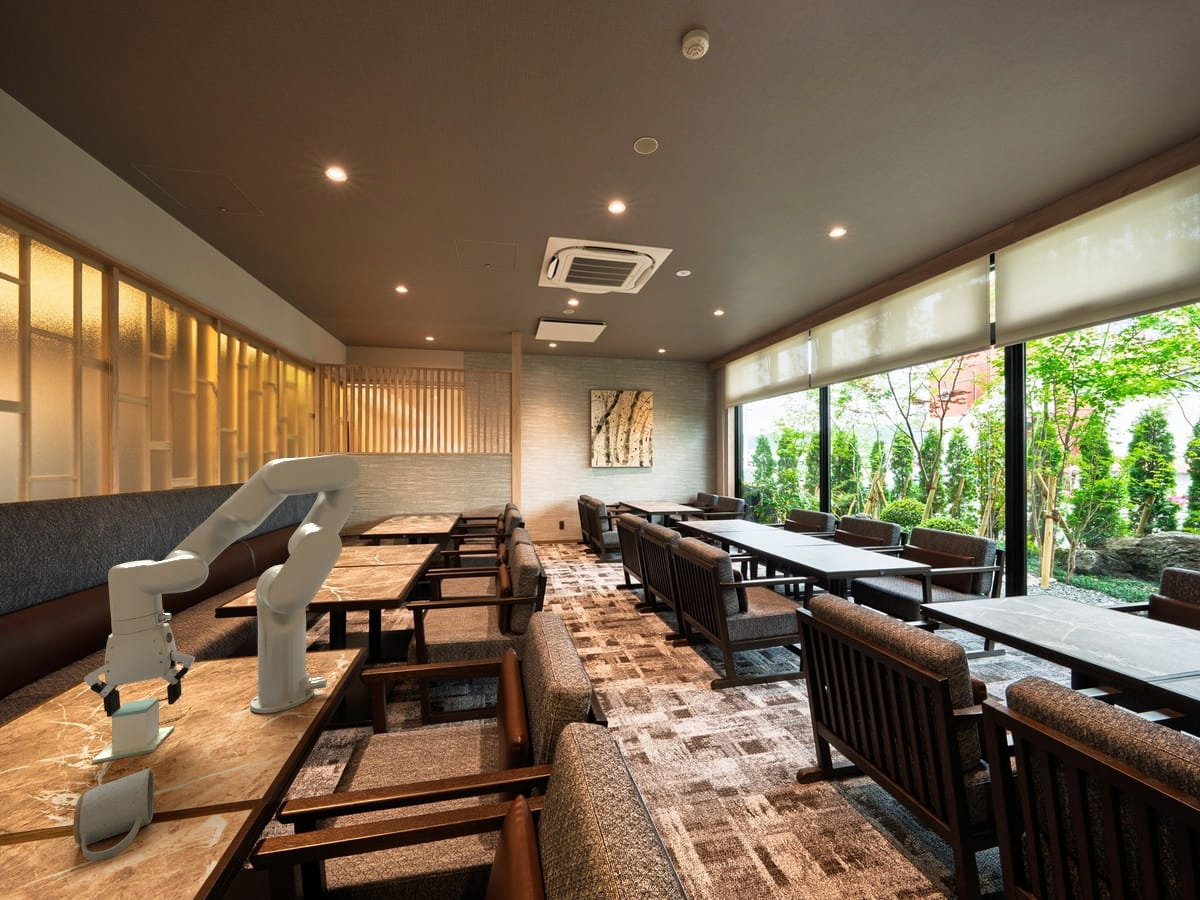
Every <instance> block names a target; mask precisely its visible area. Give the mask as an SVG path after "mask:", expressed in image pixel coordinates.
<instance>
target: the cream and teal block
mask: <svg viewBox="0 0 1200 900" xmlns="http://www.w3.org/2000/svg"><path fill="white" fill-rule="evenodd" d="M159 699H160V698H159V697H156V698H155V697H154V698H149V699H142V700H136V701H130V702H126V703H125V704H123V706H120V709H119V710H117V711H116V712H115V713H114V714H112V716H111V743H112V752H116V751H121V750H127V749H132V748H138V747H143V746H146V745H147V744H148V743H149V742H150V741H151V740H152V739H153V738H154V737H155V736H156V735H157V734H158V733H159V729H160V725H159V723H160V701H159Z"/></svg>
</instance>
